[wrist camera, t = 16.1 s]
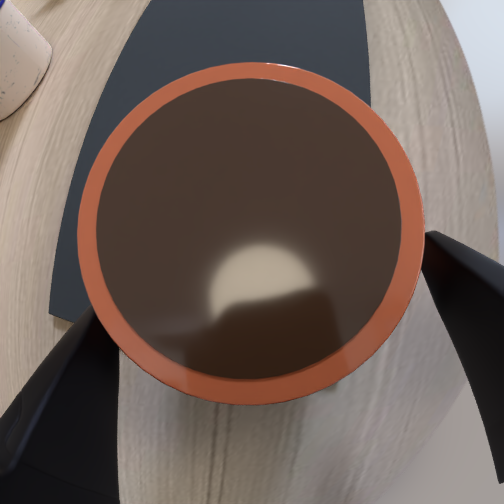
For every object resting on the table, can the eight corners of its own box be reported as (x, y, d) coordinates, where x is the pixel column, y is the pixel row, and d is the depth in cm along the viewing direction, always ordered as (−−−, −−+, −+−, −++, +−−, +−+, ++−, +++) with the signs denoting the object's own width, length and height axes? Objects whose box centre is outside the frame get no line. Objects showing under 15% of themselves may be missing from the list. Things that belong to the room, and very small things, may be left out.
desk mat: (339, 376, 13) (341, 379, 13) (54, 312, 15) (48, 313, 14) (350, -60, 17) (351, -63, 16) (205, -67, 18) (204, -71, 18)
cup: (336, 321, 13) (436, 378, 4) (200, 332, 14) (90, 399, 5) (322, 186, 14) (381, 57, 5) (191, 199, 14) (89, 94, 5)
